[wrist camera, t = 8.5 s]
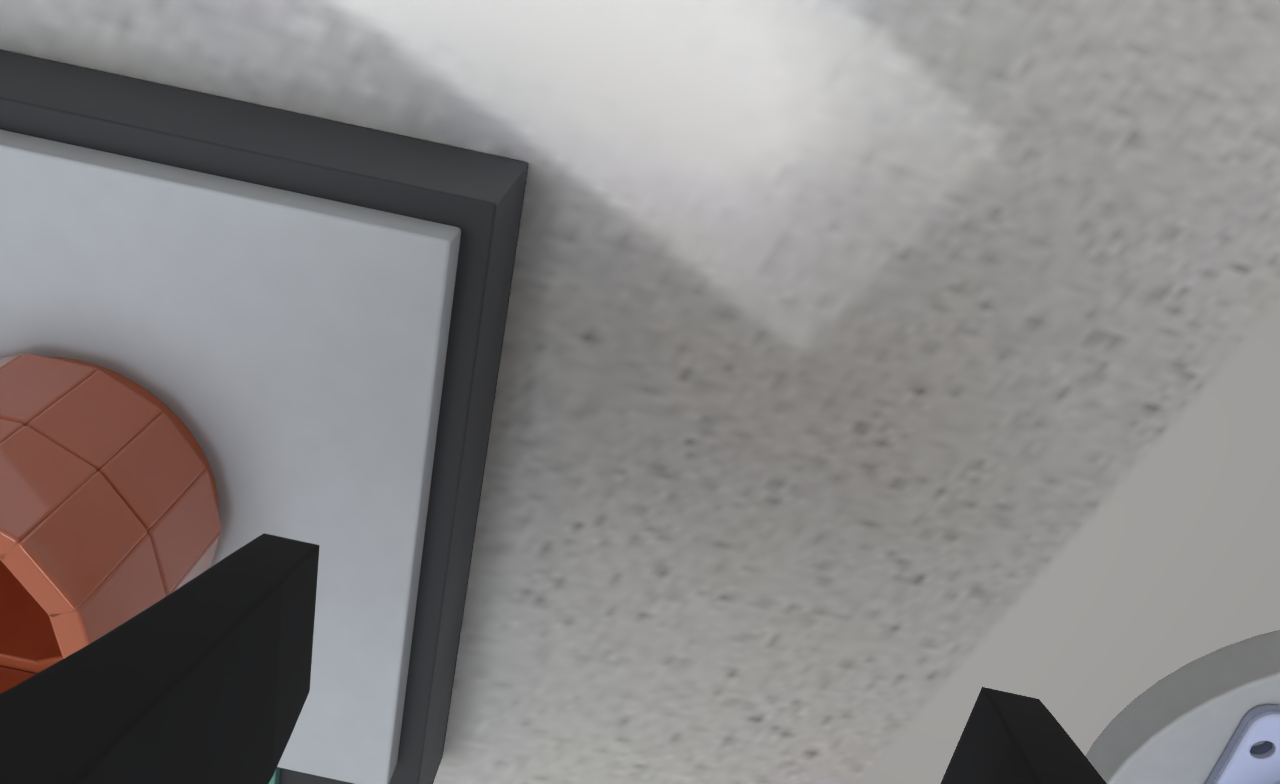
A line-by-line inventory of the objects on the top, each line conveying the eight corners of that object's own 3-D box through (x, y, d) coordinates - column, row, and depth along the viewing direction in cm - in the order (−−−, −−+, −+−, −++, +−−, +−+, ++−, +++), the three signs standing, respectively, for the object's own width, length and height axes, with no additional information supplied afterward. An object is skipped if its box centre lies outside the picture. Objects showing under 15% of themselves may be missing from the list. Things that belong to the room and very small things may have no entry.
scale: (442, 756, 26) (399, 879, 23) (-76, 645, 26) (-192, 753, 23) (528, 162, 20) (485, 218, 17) (-162, 14, 20) (-340, 41, 17)
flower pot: (232, 630, 21) (105, 814, 17) (-49, 569, 21) (-244, 738, 17) (238, 381, 18) (92, 525, 14) (-79, 313, 18) (-316, 437, 14)
